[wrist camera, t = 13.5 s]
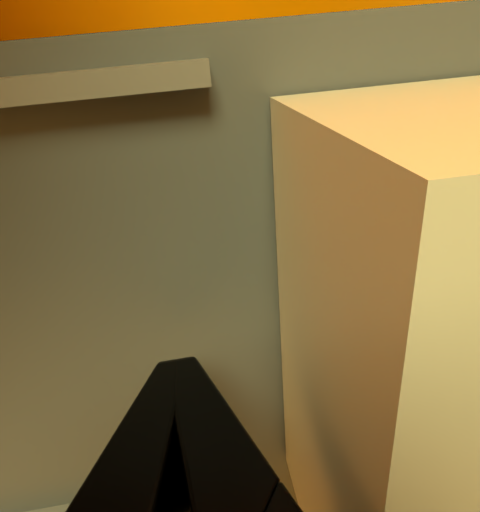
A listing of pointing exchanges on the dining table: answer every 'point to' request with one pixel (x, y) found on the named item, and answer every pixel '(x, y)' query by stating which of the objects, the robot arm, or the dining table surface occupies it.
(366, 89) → the cover
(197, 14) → the dining table surface
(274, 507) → the robot arm
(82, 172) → the base plate
